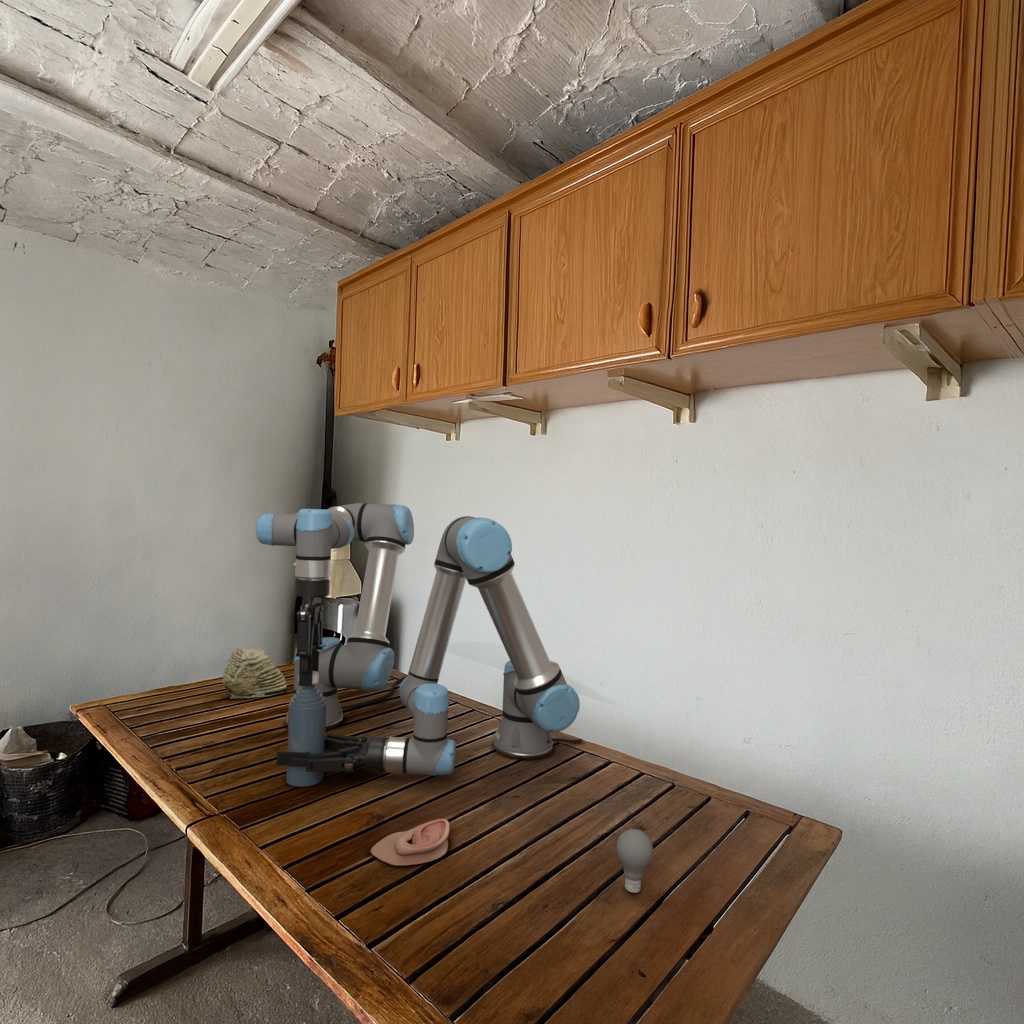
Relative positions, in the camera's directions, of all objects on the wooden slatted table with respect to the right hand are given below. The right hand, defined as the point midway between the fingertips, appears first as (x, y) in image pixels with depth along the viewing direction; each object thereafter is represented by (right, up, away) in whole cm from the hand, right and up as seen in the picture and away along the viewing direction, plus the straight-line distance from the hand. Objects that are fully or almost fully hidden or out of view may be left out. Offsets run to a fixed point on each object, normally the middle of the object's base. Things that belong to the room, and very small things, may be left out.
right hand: (284, 750), depth 142 cm
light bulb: (+71, -10, -36) cm, 80 cm away
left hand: (+5, +15, 0) cm, 16 cm away
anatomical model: (+32, -8, -27) cm, 43 cm away
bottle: (+4, -6, 0) cm, 8 cm away
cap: (+6, +17, 0) cm, 18 cm away
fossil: (-30, -4, +56) cm, 64 cm away
